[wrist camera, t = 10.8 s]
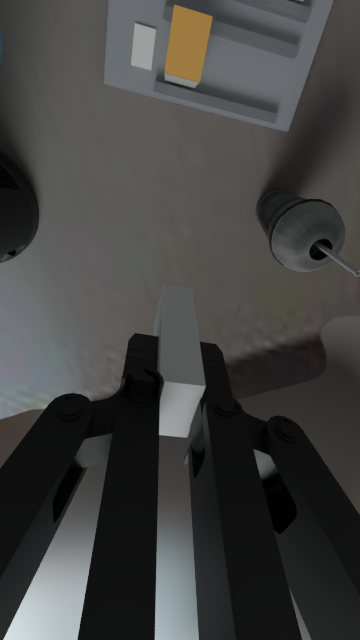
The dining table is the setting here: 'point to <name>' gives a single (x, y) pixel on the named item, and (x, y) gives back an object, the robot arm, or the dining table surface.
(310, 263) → the beverage cup
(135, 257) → the dining table surface
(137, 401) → the robot arm
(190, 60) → the grey orange block
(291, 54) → the panel
